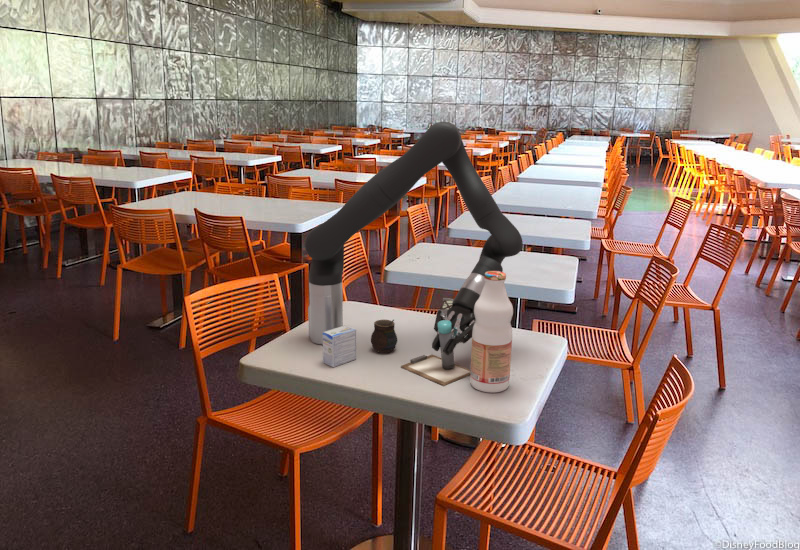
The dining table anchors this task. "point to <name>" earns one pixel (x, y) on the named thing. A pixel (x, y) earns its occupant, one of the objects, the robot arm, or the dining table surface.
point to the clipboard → (435, 370)
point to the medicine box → (339, 346)
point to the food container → (446, 305)
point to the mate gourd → (384, 336)
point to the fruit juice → (492, 336)
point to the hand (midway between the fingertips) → (440, 351)
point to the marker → (444, 337)
